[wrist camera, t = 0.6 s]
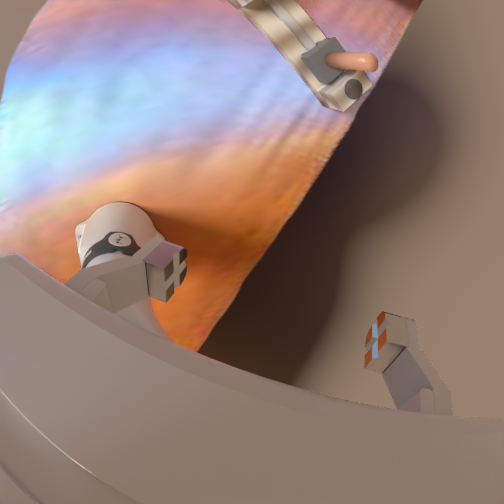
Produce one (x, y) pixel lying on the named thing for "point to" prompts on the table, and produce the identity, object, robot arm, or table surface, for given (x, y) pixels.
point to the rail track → (302, 48)
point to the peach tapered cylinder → (336, 60)
